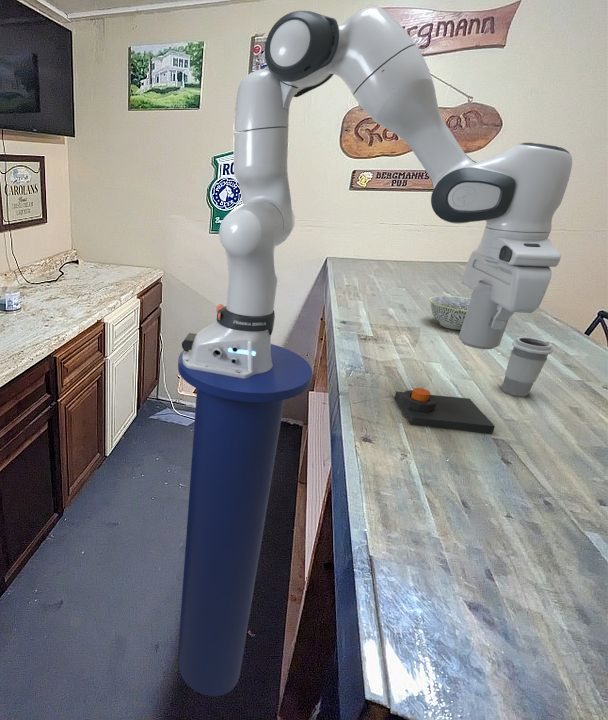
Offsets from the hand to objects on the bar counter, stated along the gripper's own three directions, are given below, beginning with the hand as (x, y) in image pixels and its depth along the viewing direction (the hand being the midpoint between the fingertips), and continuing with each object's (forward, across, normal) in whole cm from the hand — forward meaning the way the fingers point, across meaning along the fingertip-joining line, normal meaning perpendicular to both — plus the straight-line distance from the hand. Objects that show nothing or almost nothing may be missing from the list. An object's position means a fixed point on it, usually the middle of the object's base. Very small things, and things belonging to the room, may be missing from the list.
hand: (485, 321), depth 85 cm
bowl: (+20, -59, +21) cm, 65 cm away
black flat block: (+20, +1, -3) cm, 20 cm away
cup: (+20, -14, +17) cm, 30 cm away
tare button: (+17, +1, -8) cm, 18 cm away
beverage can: (+5, 0, 0) cm, 5 cm away
